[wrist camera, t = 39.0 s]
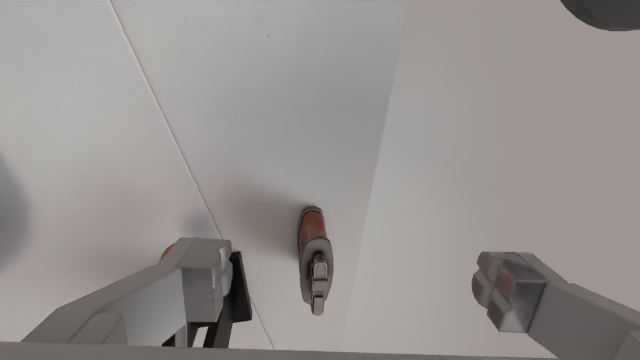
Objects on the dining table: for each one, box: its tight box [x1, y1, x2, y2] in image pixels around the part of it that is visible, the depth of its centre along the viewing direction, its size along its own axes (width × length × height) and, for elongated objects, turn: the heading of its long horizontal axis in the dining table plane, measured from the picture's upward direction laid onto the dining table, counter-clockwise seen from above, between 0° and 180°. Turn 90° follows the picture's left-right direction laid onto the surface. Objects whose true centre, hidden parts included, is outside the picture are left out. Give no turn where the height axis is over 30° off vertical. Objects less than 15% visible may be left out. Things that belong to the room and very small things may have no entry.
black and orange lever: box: [162, 251, 252, 348], centre depth 32 cm, size 10×8×15 cm
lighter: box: [297, 206, 333, 316], centre depth 33 cm, size 8×3×10 cm, turn 176°
